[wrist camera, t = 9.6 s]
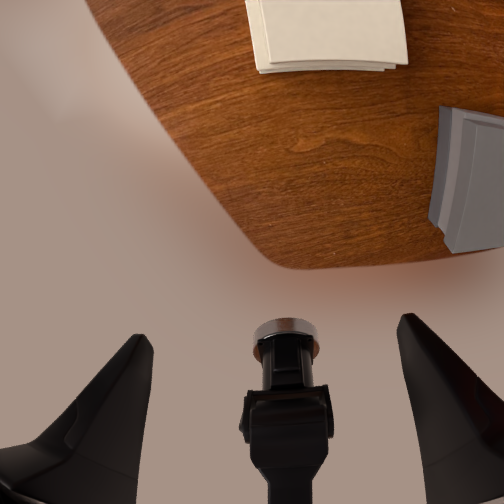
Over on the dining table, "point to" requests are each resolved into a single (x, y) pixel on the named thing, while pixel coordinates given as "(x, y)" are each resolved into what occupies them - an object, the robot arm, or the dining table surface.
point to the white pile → (265, 67)
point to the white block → (334, 31)
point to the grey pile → (469, 180)
